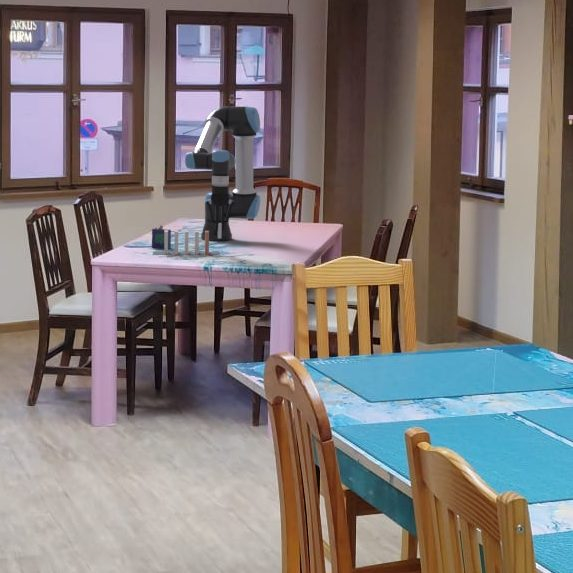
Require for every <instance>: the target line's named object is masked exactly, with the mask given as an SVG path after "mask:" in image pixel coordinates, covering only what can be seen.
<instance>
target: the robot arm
mask: <svg viewBox="0 0 573 573" xmlns="http://www.w3.org/2000/svg"><path fill="white" fill-rule="evenodd" d="M260 126H261V119H260V115H259V110H258V109H257V108H255V107H253V106H227V105H226V106H221V107H218V108H217V109H215V110H213V111H212V112H211V113H210V114H208V116H207V117H206V118H205V120H204V122H203V130H202V132H201V134H200V135H199V136H200V137H199V138H198V141H197V144H196V146H195V147H194V150H193V151H190V152H189V151H188V152H187V153H185V156H184V157H185V160H184V163H185V167H186V168H187V169H189V170H209V171H210V170H211V185H212V186H211V192H208V193H207V194H205V198H204V199H205V200H204V225H203V227H202V232H201V234H200V239H201V240H204V241H205V231H209V241H218V242H219V241H222V242H223V241H230V239H231V240H232V239H233V234H232V231H231V227H230V219H245V220H251V219H252V220H255V218H257V217H258V213H259V212H260V211H259V210H260V206H261V196H260V195H258V194H257V190H256V189H255V188H254V139H255V137H256V136H257V133H258V132H260V129H261V127H260ZM226 131H227V132H231V136H232V137H233V138H234V140H235V142H234V145H235V150H234V151H235V156H234V155H233V154H232V153H230V151H229V150H227V149H226V150H223V149H215V150H213V149H214V146H215V144H216V143H217V139H218V138H219V137H220V136H219V135H221V134H222V133H223V132H226ZM234 167H235V188H234V189H233V190H232V193H230V191H229V189H230V187H229V184H230V183H229V182H230V180H229V179H230V170H232V169H233V168H234Z"/></svg>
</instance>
